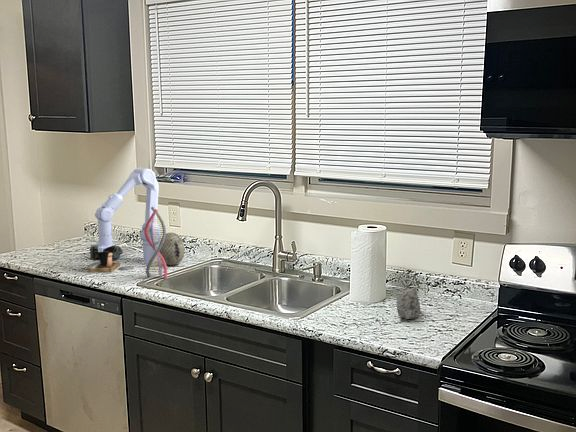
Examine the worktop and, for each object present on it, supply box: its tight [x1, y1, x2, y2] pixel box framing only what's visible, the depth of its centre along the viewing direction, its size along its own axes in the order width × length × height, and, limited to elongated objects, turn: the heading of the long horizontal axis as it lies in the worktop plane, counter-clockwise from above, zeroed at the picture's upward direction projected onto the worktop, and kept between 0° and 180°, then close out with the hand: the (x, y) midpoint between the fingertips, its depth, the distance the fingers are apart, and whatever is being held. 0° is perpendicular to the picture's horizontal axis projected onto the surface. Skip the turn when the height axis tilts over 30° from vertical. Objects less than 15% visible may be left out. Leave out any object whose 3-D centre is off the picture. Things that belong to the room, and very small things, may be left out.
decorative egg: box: [159, 232, 186, 266], centre depth 288 cm, size 12×12×15 cm
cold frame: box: [85, 260, 121, 274], centre depth 281 cm, size 11×13×2 cm
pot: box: [101, 252, 113, 268], centre depth 280 cm, size 5×5×7 cm
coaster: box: [118, 265, 135, 272], centre depth 281 cm, size 7×7×1 cm
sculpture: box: [89, 244, 124, 261], centre depth 299 cm, size 12×8×15 cm
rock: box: [396, 287, 421, 320], centre depth 217 cm, size 15×8×10 cm, turn 142°
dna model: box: [144, 207, 168, 279], centre depth 264 cm, size 9×9×30 cm
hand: (106, 264), depth 280 cm, fingers open, 6 cm apart
